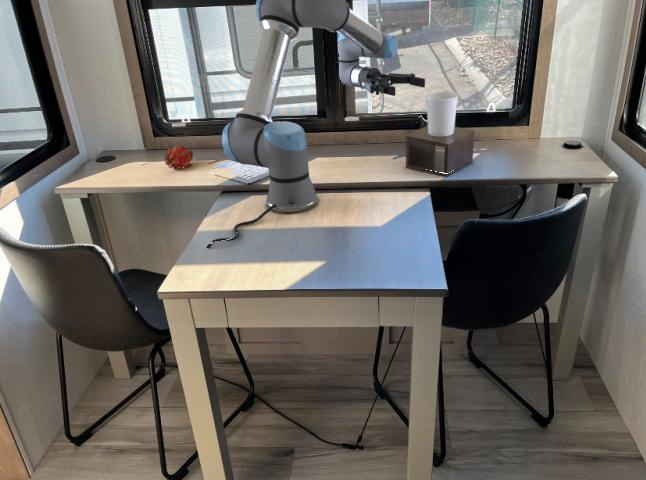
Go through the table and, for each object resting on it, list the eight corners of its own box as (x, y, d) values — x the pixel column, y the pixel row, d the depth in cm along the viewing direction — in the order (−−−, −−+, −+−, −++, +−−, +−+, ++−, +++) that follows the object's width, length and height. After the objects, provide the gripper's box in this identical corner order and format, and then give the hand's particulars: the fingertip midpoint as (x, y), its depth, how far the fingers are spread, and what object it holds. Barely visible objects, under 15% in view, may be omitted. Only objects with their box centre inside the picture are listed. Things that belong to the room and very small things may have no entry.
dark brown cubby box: (446, 177, 189) (448, 144, 183) (405, 167, 198) (405, 135, 192) (472, 162, 199) (474, 130, 193) (432, 153, 208) (433, 122, 202)
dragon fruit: (165, 176, 208) (192, 171, 217) (175, 166, 202) (204, 160, 211) (154, 154, 208) (183, 149, 216) (165, 143, 202) (193, 139, 210)
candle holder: (454, 127, 196) (456, 90, 189) (457, 137, 188) (459, 98, 181) (424, 128, 197) (425, 91, 190) (426, 138, 189) (427, 99, 182)
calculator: (249, 185, 193) (248, 180, 192) (208, 174, 204) (207, 169, 203) (277, 172, 201) (276, 167, 200) (236, 162, 212) (235, 157, 211)
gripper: (392, 82, 217) (435, 91, 202) (340, 96, 204) (381, 107, 190) (392, 60, 212) (436, 68, 198) (338, 73, 200) (381, 82, 186)
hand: (409, 87), depth 194 cm, fingers open, 13 cm apart
